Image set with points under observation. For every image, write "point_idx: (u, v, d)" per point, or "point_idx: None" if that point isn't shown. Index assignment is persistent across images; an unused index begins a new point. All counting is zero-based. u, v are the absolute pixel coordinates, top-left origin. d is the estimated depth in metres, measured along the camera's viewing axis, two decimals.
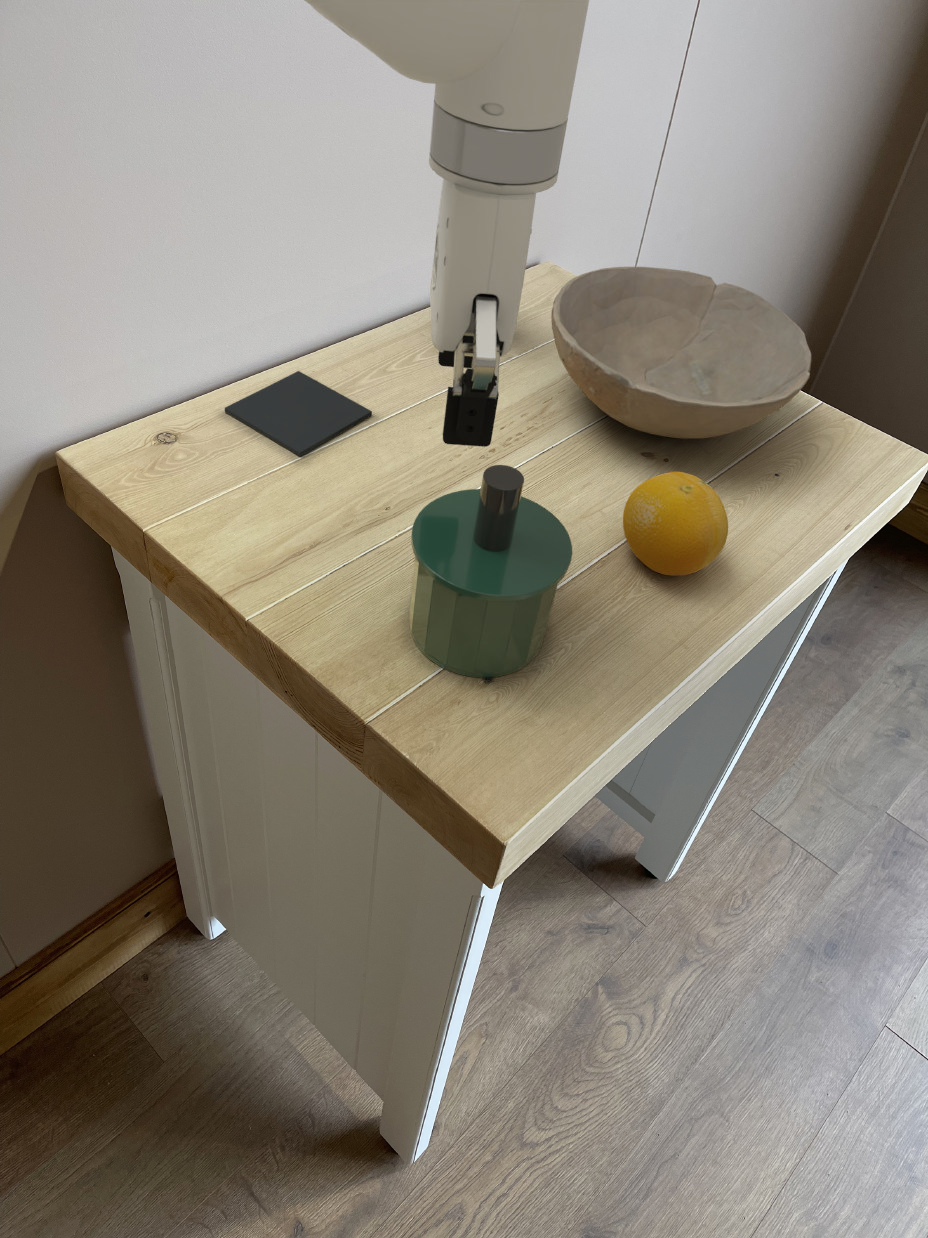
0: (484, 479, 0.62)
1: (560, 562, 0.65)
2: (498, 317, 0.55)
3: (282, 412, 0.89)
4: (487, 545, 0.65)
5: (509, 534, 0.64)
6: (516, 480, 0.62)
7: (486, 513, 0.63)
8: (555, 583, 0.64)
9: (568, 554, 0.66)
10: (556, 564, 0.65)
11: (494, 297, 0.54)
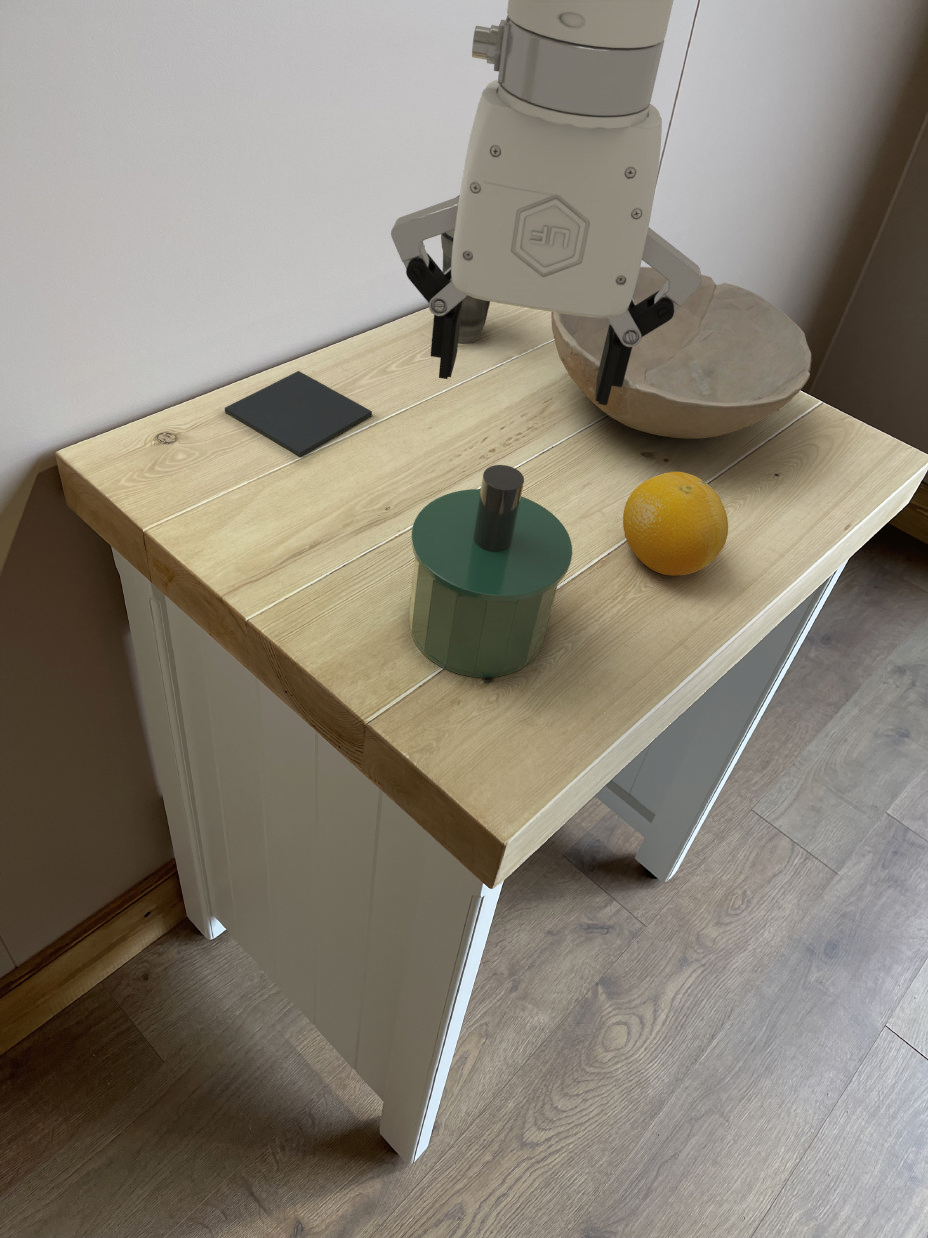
0: (484, 479, 0.62)
1: (560, 562, 0.65)
2: None
3: (282, 412, 0.89)
4: (487, 545, 0.65)
5: (509, 534, 0.64)
6: (516, 480, 0.62)
7: (486, 513, 0.63)
8: (555, 583, 0.64)
9: (568, 554, 0.66)
10: (556, 564, 0.65)
11: None
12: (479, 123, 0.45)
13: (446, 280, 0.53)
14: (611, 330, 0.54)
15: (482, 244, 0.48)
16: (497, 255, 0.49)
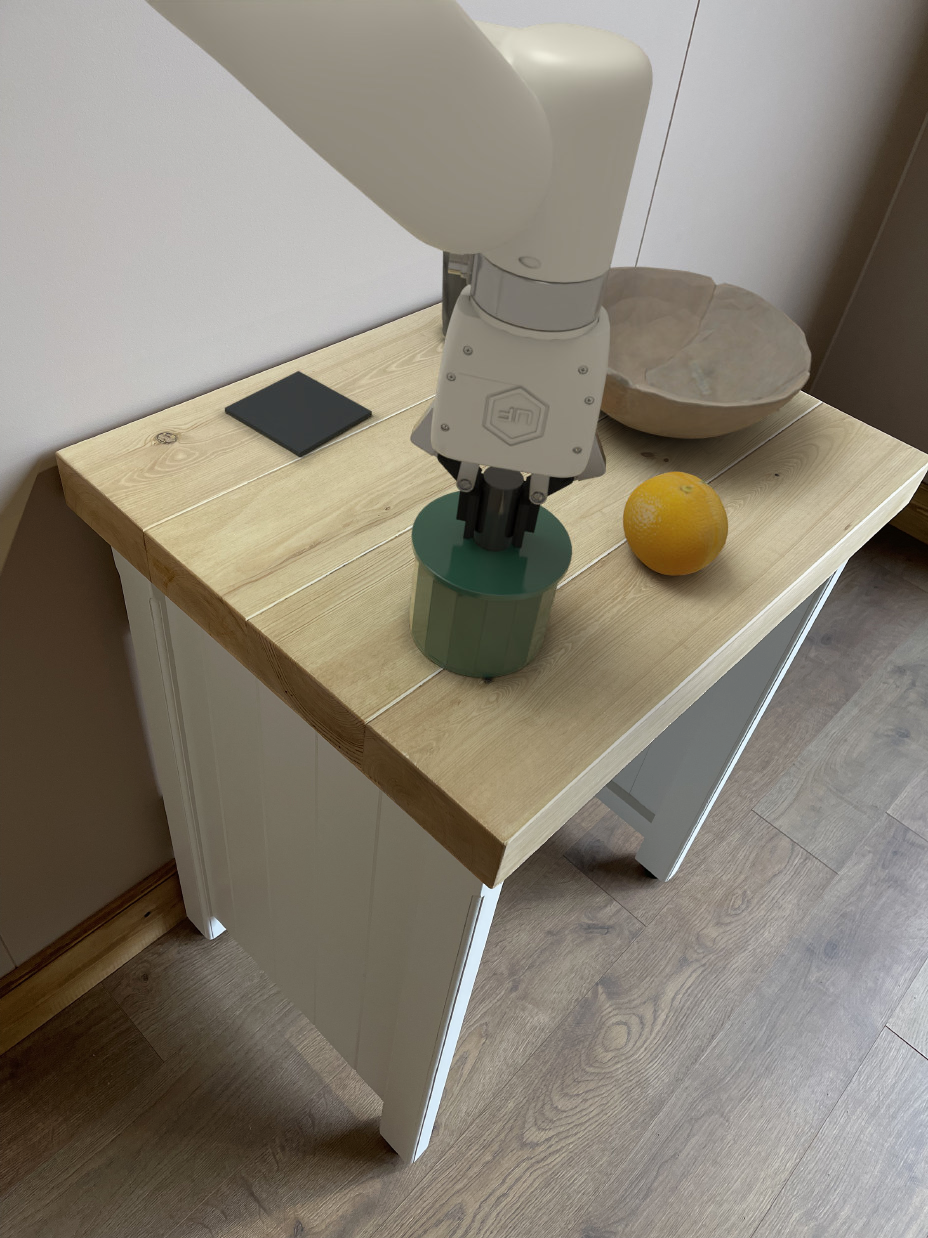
0: (484, 479, 0.62)
1: (560, 562, 0.65)
2: None
3: (282, 412, 0.89)
4: (487, 545, 0.65)
5: (509, 534, 0.64)
6: (515, 480, 0.62)
7: (486, 513, 0.63)
8: (555, 583, 0.64)
9: (568, 554, 0.66)
10: (556, 564, 0.65)
11: None
12: (454, 328, 0.53)
13: None
14: (523, 486, 0.63)
15: (457, 419, 0.56)
16: (470, 428, 0.56)
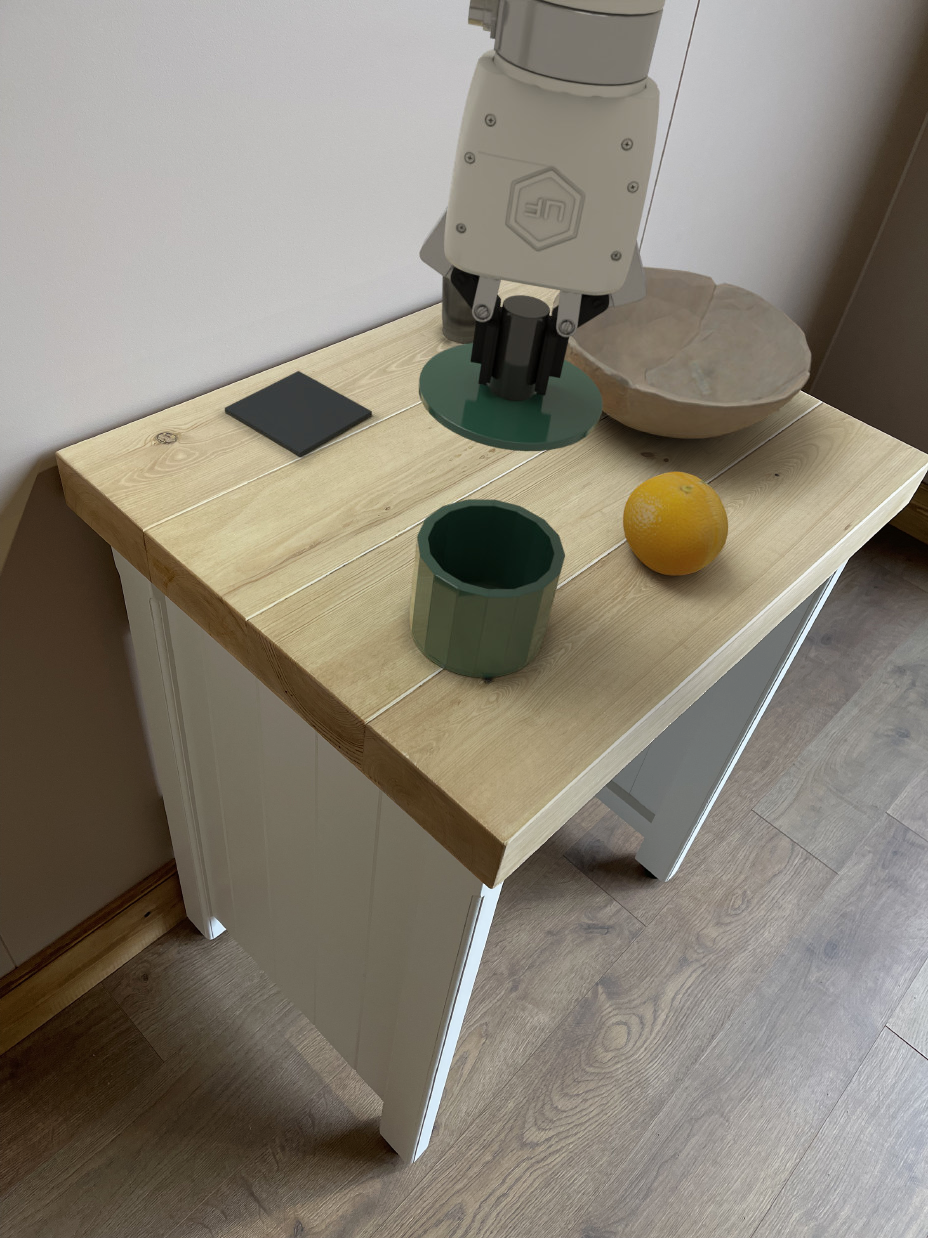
0: (504, 307, 0.53)
1: (589, 414, 0.56)
2: None
3: (282, 412, 0.89)
4: (506, 392, 0.56)
5: (531, 379, 0.56)
6: (540, 309, 0.53)
7: (506, 350, 0.54)
8: (584, 434, 0.55)
9: (598, 406, 0.57)
10: (585, 415, 0.56)
11: None
12: (474, 91, 0.44)
13: None
14: (549, 320, 0.55)
15: (476, 216, 0.48)
16: (491, 228, 0.48)
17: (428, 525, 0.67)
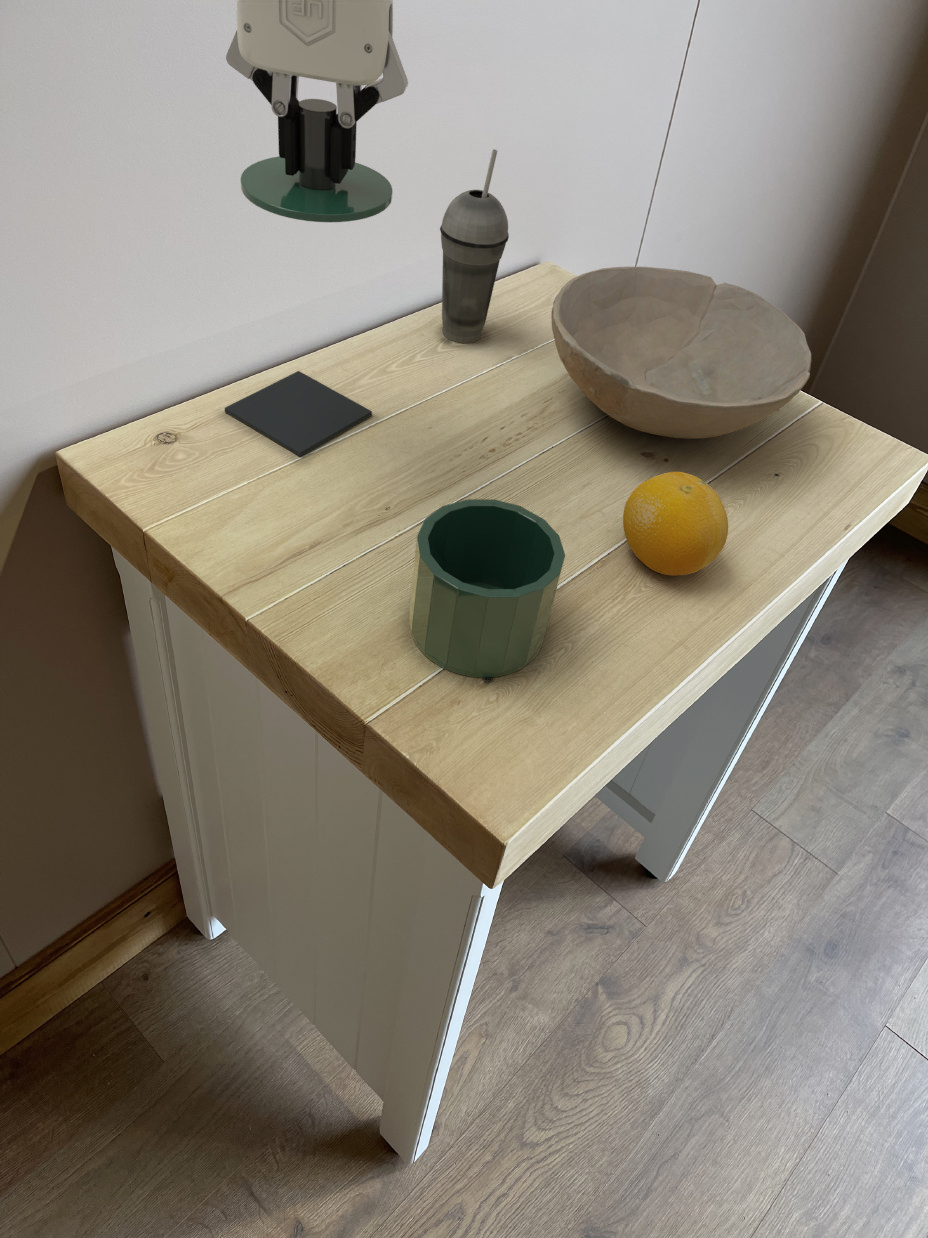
0: (298, 105, 0.67)
1: (377, 200, 0.70)
2: (392, 24, 0.64)
3: (282, 412, 0.89)
4: (309, 182, 0.70)
5: (329, 170, 0.69)
6: (328, 107, 0.67)
7: (304, 142, 0.68)
8: (369, 212, 0.69)
9: (387, 196, 0.71)
10: (373, 200, 0.70)
11: None
12: None
13: None
14: None
15: (257, 16, 0.61)
16: (270, 26, 0.62)
17: (428, 525, 0.67)
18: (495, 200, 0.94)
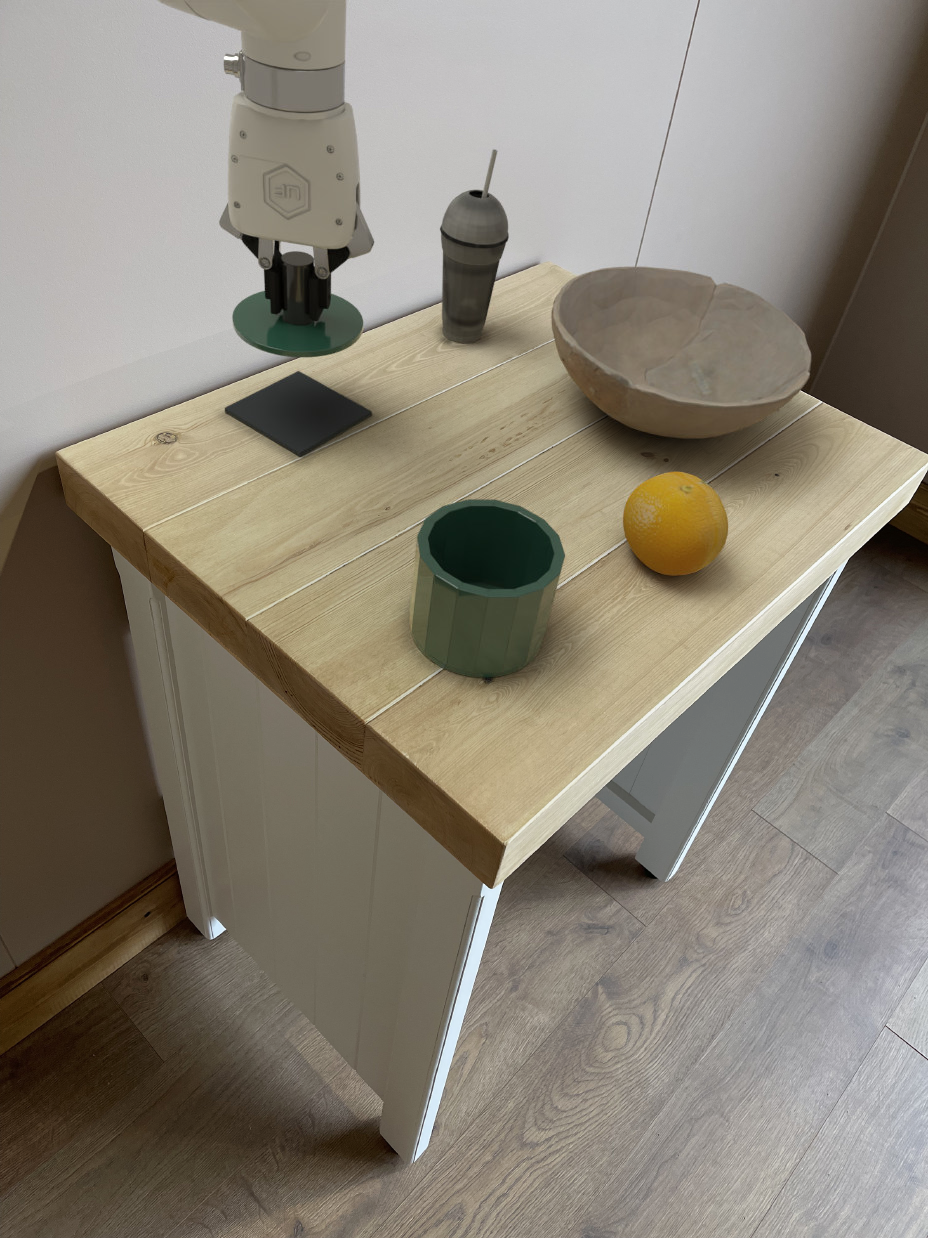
0: (281, 259, 0.78)
1: (350, 334, 0.82)
2: (359, 197, 0.75)
3: (282, 412, 0.89)
4: (291, 319, 0.81)
5: (308, 309, 0.81)
6: (306, 260, 0.79)
7: (286, 289, 0.80)
8: (343, 347, 0.81)
9: (358, 329, 0.82)
10: (346, 334, 0.82)
11: None
12: (232, 116, 0.69)
13: None
14: None
15: (245, 197, 0.73)
16: (255, 204, 0.73)
17: (428, 525, 0.67)
18: (495, 200, 0.94)
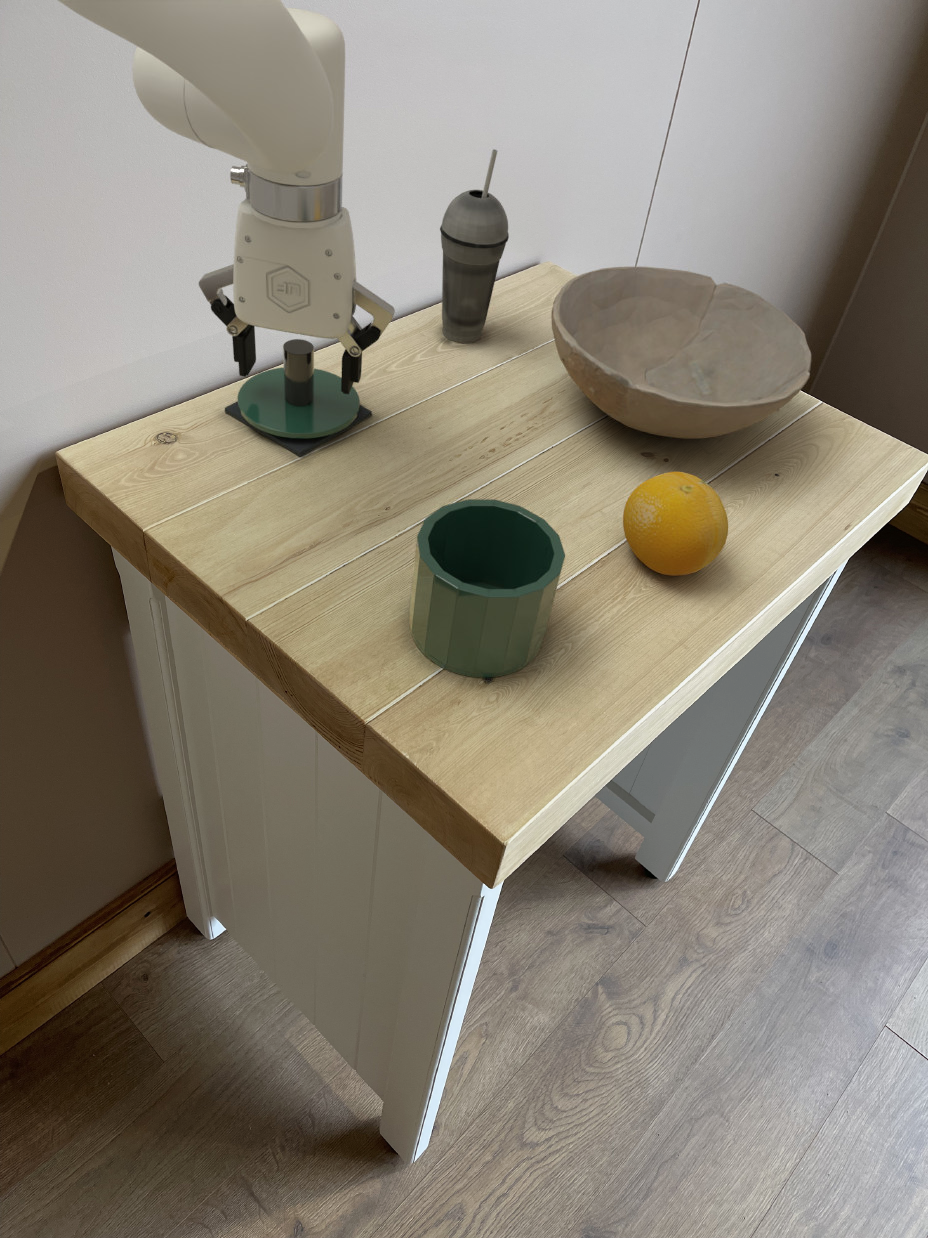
0: (283, 347, 0.84)
1: (347, 414, 0.88)
2: None
3: None
4: (292, 401, 0.87)
5: (308, 392, 0.87)
6: (307, 349, 0.85)
7: (288, 374, 0.85)
8: (340, 427, 0.86)
9: (355, 409, 0.88)
10: (344, 415, 0.87)
11: None
12: (237, 222, 0.75)
13: None
14: None
15: (249, 292, 0.78)
16: (259, 299, 0.79)
17: (428, 525, 0.67)
18: (495, 200, 0.94)
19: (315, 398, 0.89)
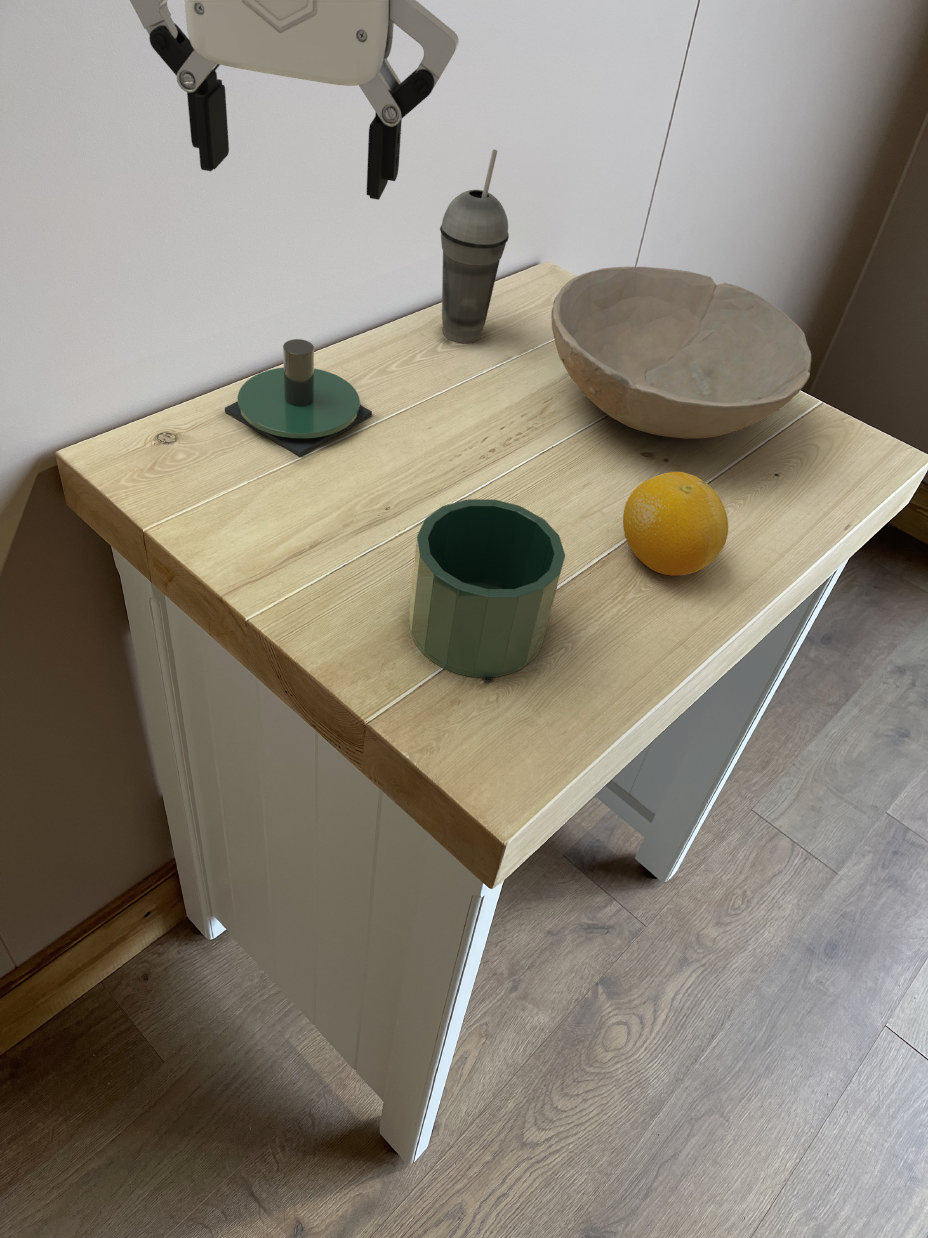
0: (283, 347, 0.84)
1: (347, 414, 0.88)
2: None
3: None
4: (292, 401, 0.87)
5: (308, 392, 0.87)
6: (307, 349, 0.85)
7: (288, 374, 0.85)
8: (340, 427, 0.86)
9: (355, 409, 0.88)
10: (344, 415, 0.87)
11: None
12: None
13: None
14: None
15: None
16: (228, 6, 0.46)
17: (428, 525, 0.67)
18: (495, 200, 0.94)
19: (315, 398, 0.89)
